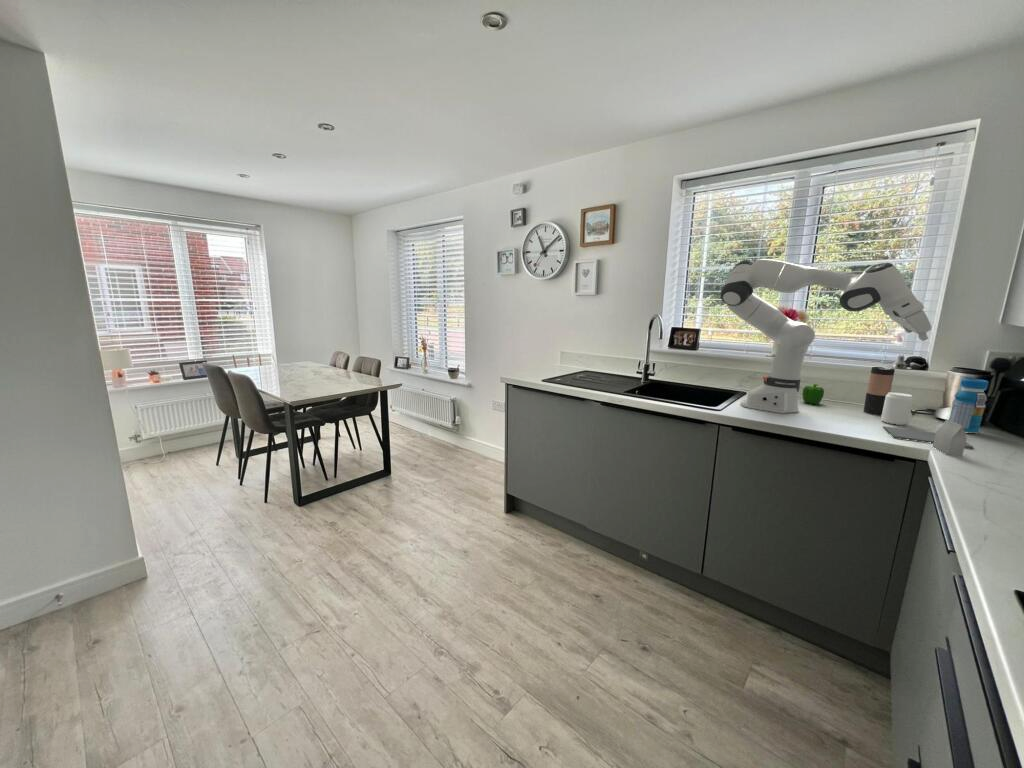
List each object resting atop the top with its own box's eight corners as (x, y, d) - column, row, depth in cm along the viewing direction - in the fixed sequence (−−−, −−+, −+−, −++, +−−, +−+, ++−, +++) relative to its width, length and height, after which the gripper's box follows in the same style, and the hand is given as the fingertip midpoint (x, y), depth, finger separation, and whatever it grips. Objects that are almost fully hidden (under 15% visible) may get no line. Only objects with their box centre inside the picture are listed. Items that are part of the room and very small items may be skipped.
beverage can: (913, 426, 160) (919, 397, 157) (889, 425, 161) (895, 395, 159) (898, 421, 168) (904, 392, 165) (875, 419, 169) (881, 391, 167)
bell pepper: (801, 400, 201) (805, 380, 199) (822, 403, 196) (826, 382, 194) (800, 403, 195) (803, 382, 193) (821, 406, 190) (825, 385, 188)
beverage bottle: (947, 431, 155) (960, 379, 151) (944, 426, 162) (957, 376, 157) (980, 436, 150) (994, 382, 146) (976, 430, 156) (989, 379, 152)
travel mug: (866, 414, 178) (876, 368, 173) (859, 409, 184) (868, 366, 180) (888, 416, 175) (898, 370, 171) (880, 411, 182) (890, 367, 178)
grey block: (947, 455, 130) (955, 425, 128) (932, 448, 136) (939, 419, 134) (962, 456, 129) (969, 426, 127) (945, 449, 135) (953, 420, 133)
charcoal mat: (893, 438, 145) (894, 436, 145) (882, 428, 157) (883, 426, 157) (973, 449, 136) (973, 446, 135) (954, 437, 148) (955, 435, 147)
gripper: (874, 302, 153) (892, 331, 155) (902, 316, 136) (921, 349, 138) (894, 292, 150) (912, 322, 152) (925, 305, 133) (945, 339, 135)
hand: (917, 335), depth 145 cm, fingers open, 8 cm apart
